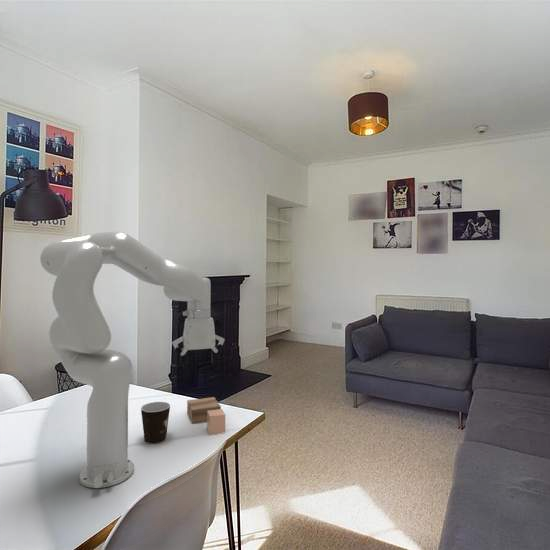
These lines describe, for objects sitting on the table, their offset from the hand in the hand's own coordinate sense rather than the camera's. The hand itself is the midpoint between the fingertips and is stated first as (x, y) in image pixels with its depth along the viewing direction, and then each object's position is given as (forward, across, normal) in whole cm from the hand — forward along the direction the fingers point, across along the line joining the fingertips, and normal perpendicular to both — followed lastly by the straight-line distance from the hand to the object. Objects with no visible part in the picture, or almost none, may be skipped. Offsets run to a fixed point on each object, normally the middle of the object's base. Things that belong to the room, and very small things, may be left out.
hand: (198, 365), depth 123 cm
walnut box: (+21, +3, +8) cm, 23 cm away
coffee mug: (+21, -15, -6) cm, 26 cm away
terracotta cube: (+21, +5, -5) cm, 22 cm away
